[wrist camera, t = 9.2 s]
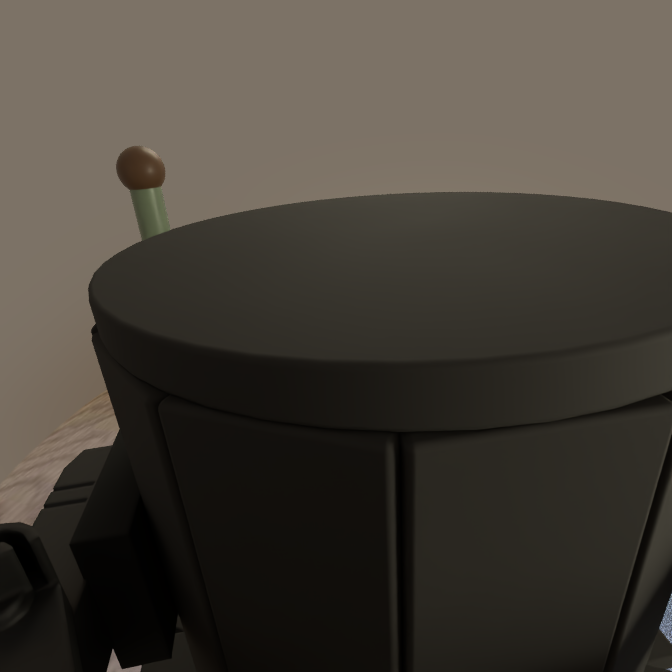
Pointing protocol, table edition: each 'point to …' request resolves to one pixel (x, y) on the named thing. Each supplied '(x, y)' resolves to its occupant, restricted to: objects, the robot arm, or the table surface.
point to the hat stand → (145, 188)
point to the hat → (403, 431)
